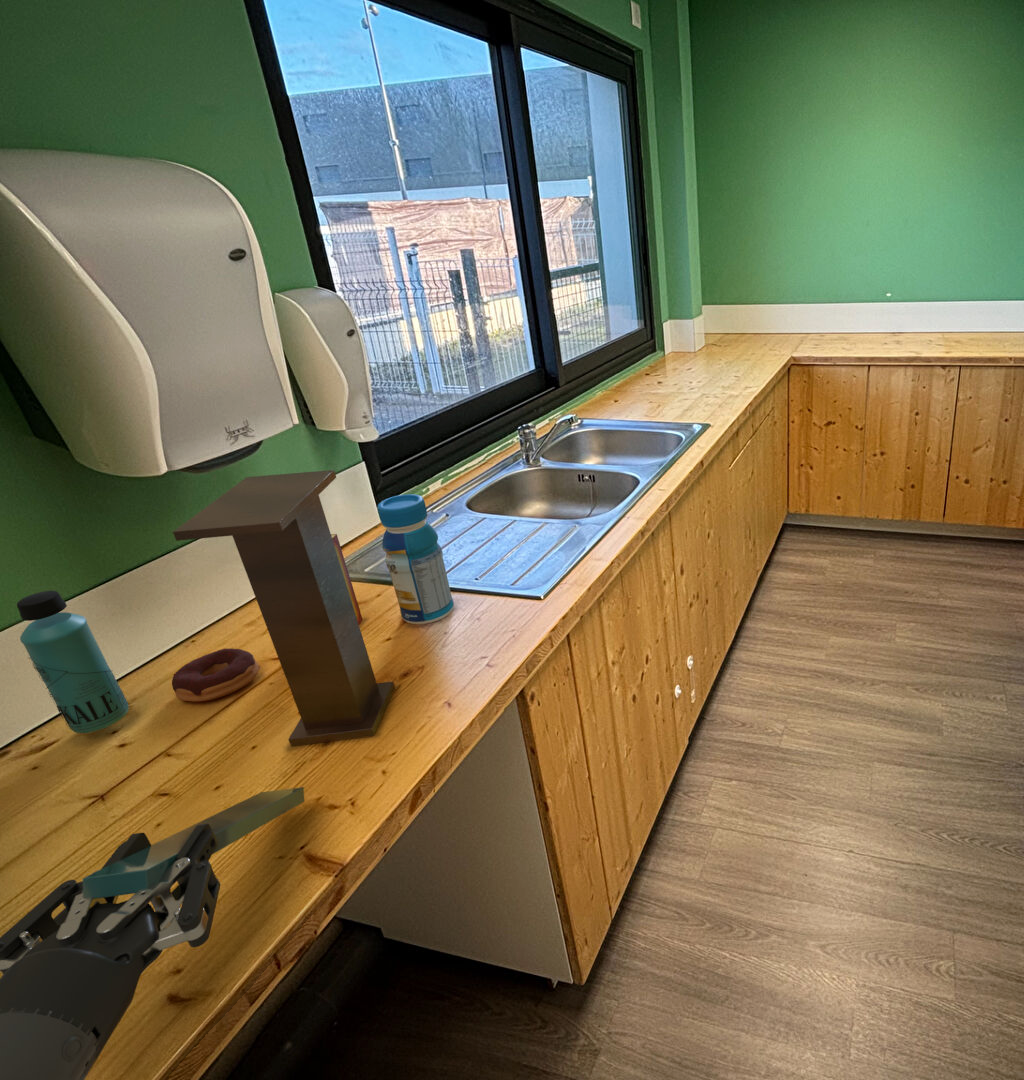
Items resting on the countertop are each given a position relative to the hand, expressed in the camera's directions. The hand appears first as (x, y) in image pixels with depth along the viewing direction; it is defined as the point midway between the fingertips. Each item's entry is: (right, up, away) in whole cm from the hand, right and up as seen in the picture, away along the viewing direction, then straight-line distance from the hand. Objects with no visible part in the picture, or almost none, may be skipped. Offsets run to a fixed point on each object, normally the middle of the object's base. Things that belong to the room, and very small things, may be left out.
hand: (175, 836), depth 58 cm
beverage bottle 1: (-36, 0, +34) cm, 50 cm away
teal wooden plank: (0, -3, +5) cm, 6 cm away
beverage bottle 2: (-3, +12, +58) cm, 59 cm away
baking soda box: (-16, +9, +52) cm, 55 cm away
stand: (-4, +1, +33) cm, 33 cm away
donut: (-26, +4, +42) cm, 49 cm away
